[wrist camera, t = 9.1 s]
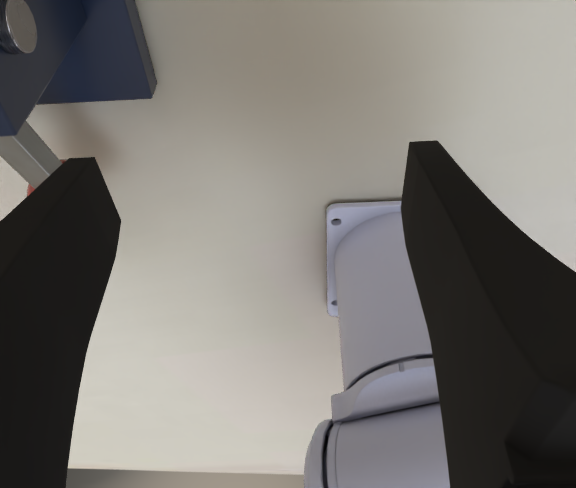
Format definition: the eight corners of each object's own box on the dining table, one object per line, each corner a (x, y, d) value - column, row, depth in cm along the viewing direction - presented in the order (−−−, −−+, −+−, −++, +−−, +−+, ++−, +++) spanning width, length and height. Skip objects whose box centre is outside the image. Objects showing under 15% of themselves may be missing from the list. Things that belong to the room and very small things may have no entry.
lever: (118, 180, 24) (110, 241, 23) (54, 183, 24) (43, 243, 23) (-54, -62, 13) (-87, 30, 12) (-171, -54, 13) (-214, 38, 12)
